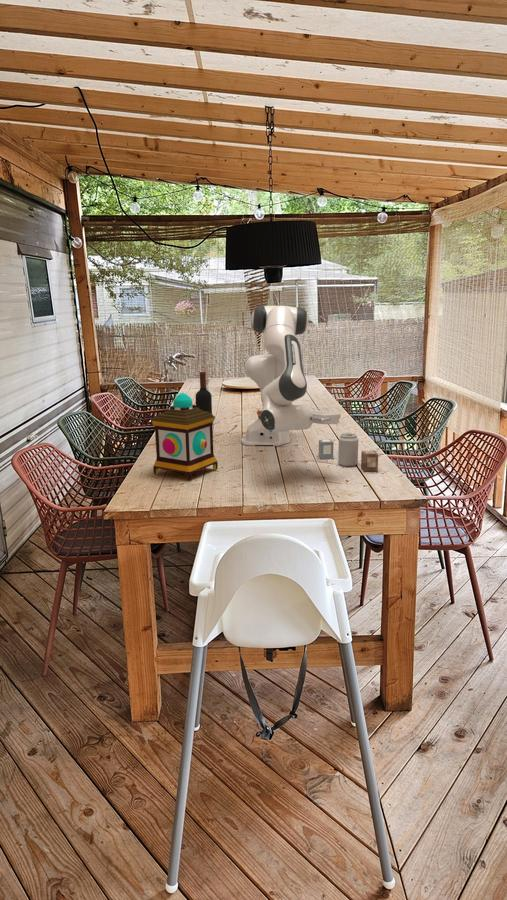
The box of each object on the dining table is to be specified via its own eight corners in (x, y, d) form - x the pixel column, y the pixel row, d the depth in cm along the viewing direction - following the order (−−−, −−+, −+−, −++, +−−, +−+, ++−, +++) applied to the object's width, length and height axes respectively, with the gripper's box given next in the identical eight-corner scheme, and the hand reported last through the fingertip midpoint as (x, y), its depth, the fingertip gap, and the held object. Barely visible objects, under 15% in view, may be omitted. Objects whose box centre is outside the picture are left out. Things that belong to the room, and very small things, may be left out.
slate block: (320, 459, 233) (321, 442, 231) (318, 456, 238) (318, 439, 236) (333, 459, 233) (333, 442, 231) (330, 455, 238) (331, 439, 236)
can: (359, 462, 227) (360, 432, 224) (356, 468, 220) (356, 437, 217) (340, 461, 230) (340, 431, 227) (336, 466, 223) (337, 435, 220)
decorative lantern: (190, 483, 205) (186, 398, 198) (148, 475, 215) (142, 394, 208) (223, 469, 221) (220, 390, 214) (182, 462, 232) (178, 387, 224)
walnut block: (364, 473, 214) (365, 454, 212) (360, 469, 219) (361, 450, 217) (377, 472, 214) (378, 453, 212) (374, 468, 219) (374, 450, 217)
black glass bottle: (206, 419, 316) (204, 363, 309) (224, 421, 309) (223, 364, 302) (190, 423, 306) (188, 366, 299) (209, 425, 299) (207, 367, 292)
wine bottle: (194, 436, 277) (191, 372, 269) (201, 432, 284) (199, 371, 276) (208, 437, 274) (206, 373, 266) (215, 433, 281) (213, 371, 273)
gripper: (322, 411, 197) (351, 409, 205) (283, 405, 213) (311, 403, 221) (321, 429, 198) (350, 426, 206) (283, 422, 214) (310, 420, 222)
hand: (329, 414), depth 214 cm, fingers open, 8 cm apart
